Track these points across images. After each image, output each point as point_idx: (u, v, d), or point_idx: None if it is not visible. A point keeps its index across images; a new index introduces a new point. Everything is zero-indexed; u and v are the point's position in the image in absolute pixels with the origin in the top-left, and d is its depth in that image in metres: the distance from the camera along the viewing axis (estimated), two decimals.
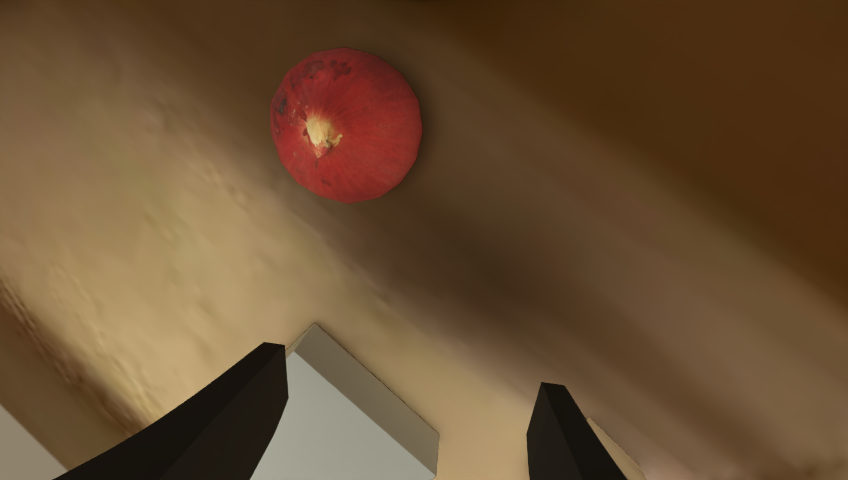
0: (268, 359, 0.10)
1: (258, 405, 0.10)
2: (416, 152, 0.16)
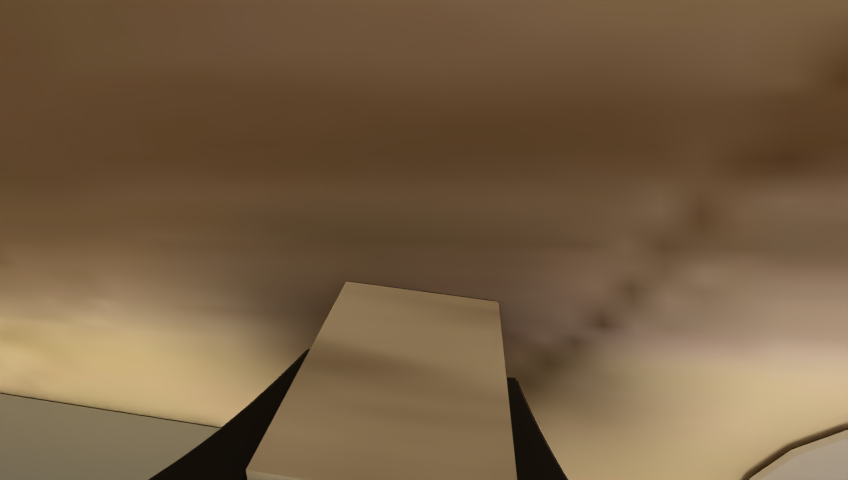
0: None
1: None
2: None
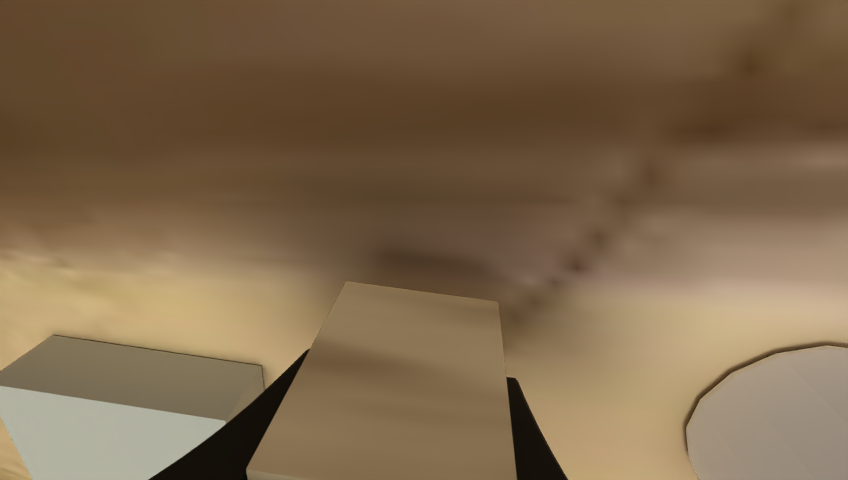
0: None
1: None
2: None
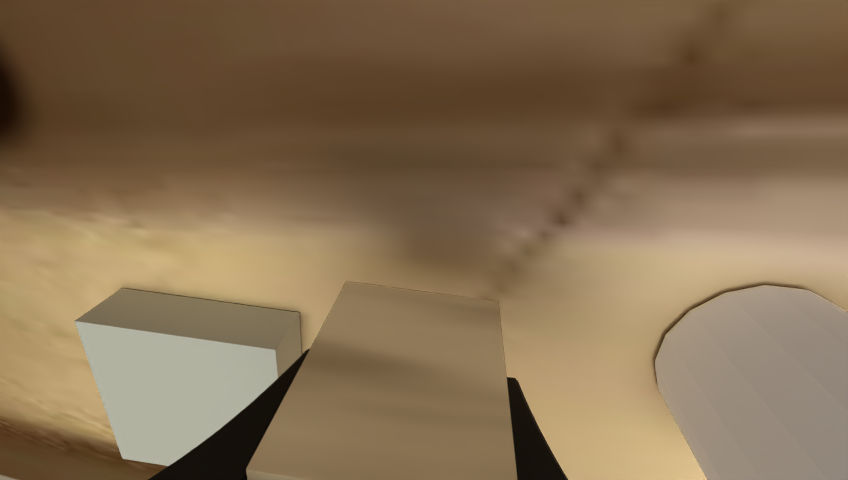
0: None
1: None
2: None
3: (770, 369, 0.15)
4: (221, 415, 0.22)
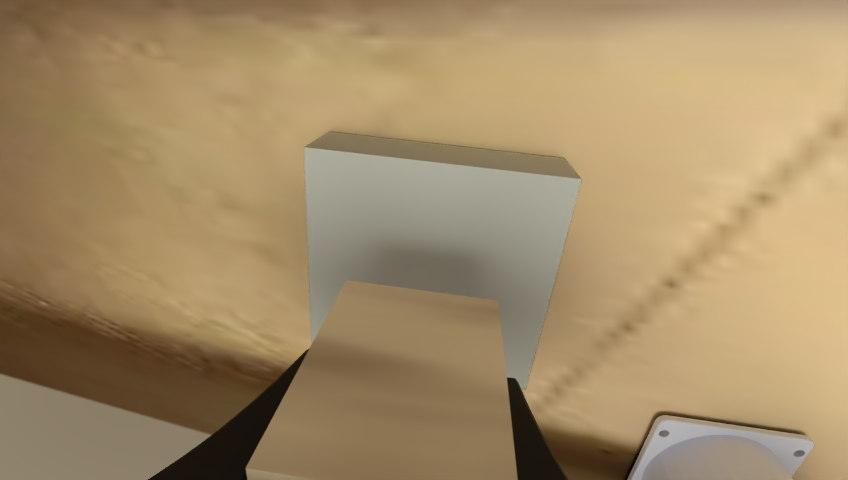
0: None
1: None
2: None
3: None
4: (468, 287, 0.17)
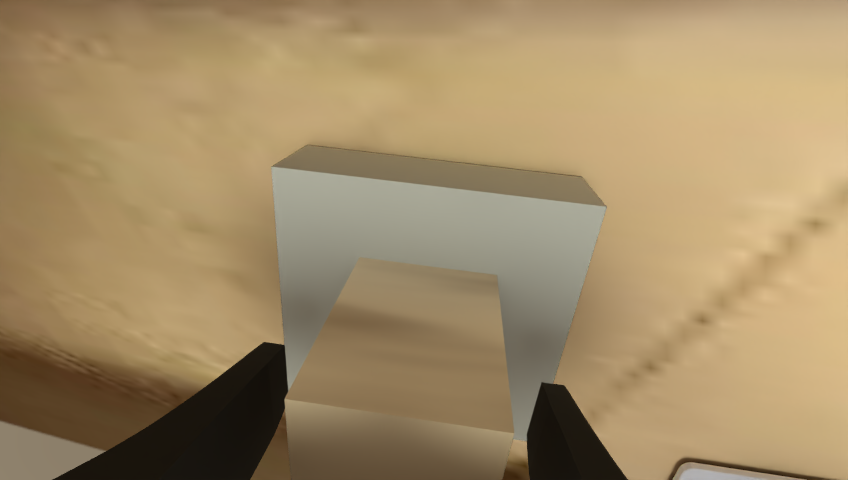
0: (268, 359, 0.10)
1: (258, 405, 0.10)
2: None
3: None
4: None
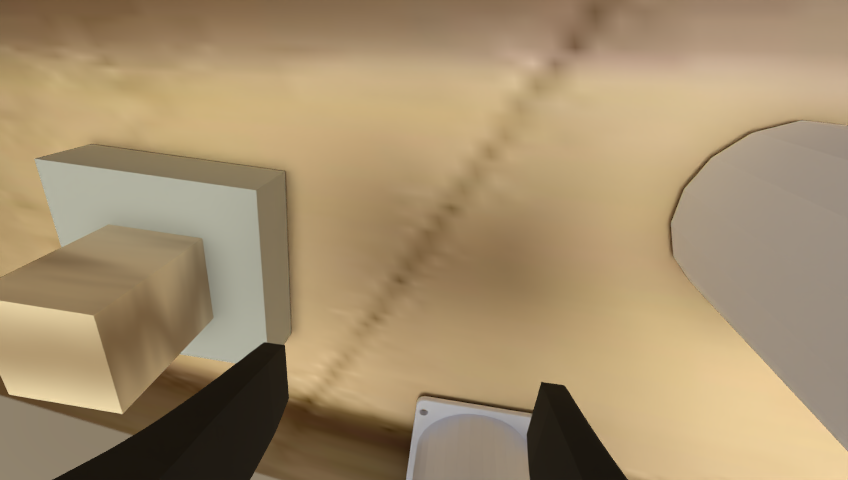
0: (268, 359, 0.10)
1: (258, 405, 0.10)
2: None
3: (809, 172, 0.13)
4: None
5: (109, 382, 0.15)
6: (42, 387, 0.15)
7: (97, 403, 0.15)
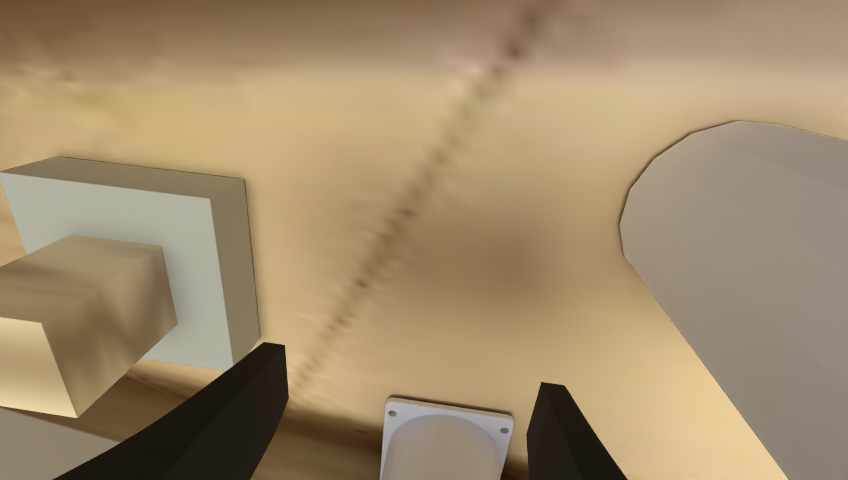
0: (268, 359, 0.10)
1: (258, 405, 0.10)
2: None
3: (731, 172, 0.14)
4: None
5: (61, 387, 0.15)
6: (0, 393, 0.16)
7: (52, 408, 0.16)
